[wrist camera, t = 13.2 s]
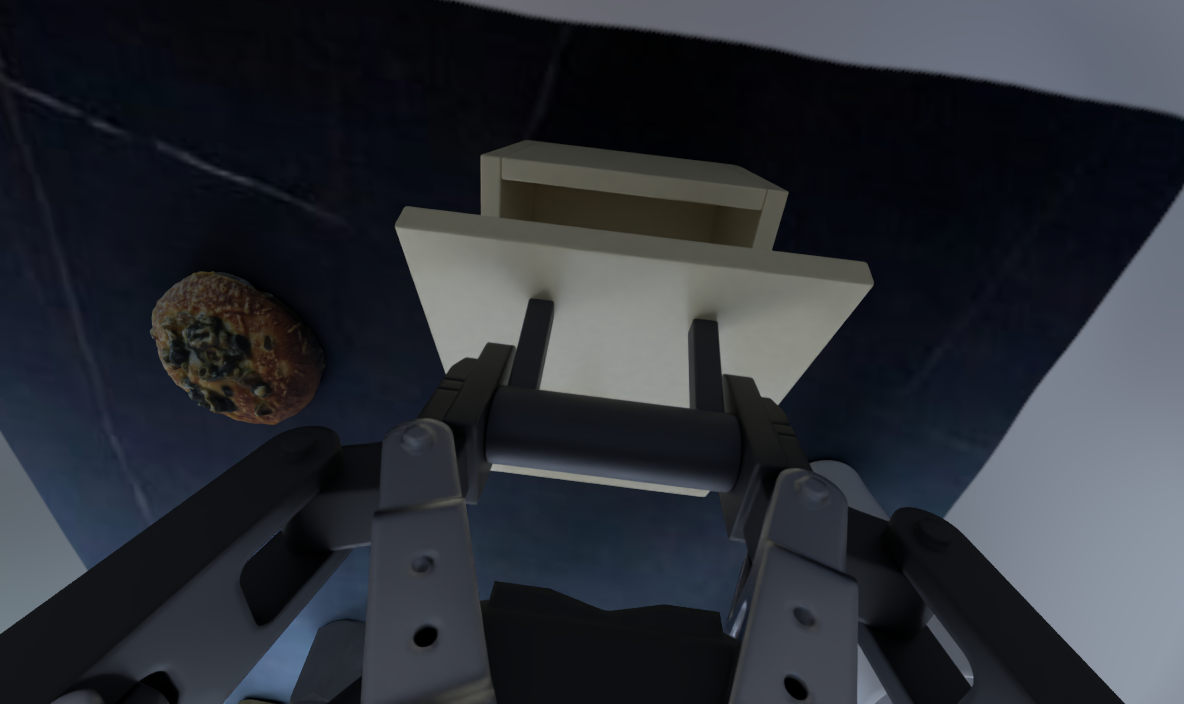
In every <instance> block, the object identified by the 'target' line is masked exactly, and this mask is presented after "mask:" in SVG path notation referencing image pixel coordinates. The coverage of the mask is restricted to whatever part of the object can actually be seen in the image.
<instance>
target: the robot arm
mask: <svg viewBox="0 0 1184 704" xmlns="http://www.w3.org/2000/svg"><path fill="white" fill-rule="evenodd" d="M515 354H516V347H515V346H514V345H507V344H499V343H492V342H488V343H487V344H486V345H485V347H484V349H483V350H482V352H481V354H480V356H479V357H478V359H476V358H468V357H465V358H464V359H462V360H460V361H459V362H457V363H456V364H454V365H452V366H451V368H450V369H449V371H448V372H447V374H446V375H445V377H444V380H442V381H441V383H440V384H439V386H438V389H436V390H435V392H434V393H433V395H432V396H431V398H430V399H429V401H428V402H427V404H426V405H425V407H424V408H423V410H422V411H421V413H420V414H419V416H418V417H417V419H413V420H409V421H405V422H403V423H400V424H398V425H396V426H395V427H393V428H392V429H391V430H389V431H388V432H387V434H386V435H385V436H384V439H383V441H382V442H377V443H370V444H358V445H347V446H341V444H340V439H339V436H338V434H337V433H336V432H335V431H333V430H331V429H329V428H326V427H321V426H305V427H299V428H294V429H291V430H288V431H285V432H283V433H281V434H279V435H277V436H275V437H273V438H272V439H270V440H269V441H267V442H266V443H264V444H263V445H262V446H260V447H259V448H258V449H256V450H255V451H253V452H252V453H251V454H249V455H248V456H246V457H245V458H244V459H242V460H241V461H240V462H238V463H237V464H235V465H234V466H233V467H231V468H230V469H228V470H227V471H226V472H224V473H223V474H222V475H220V476H219V477H217V478H216V479H215V480H213V481H212V482H210V483H209V484H208V485H206V486H205V487H204V488H202V489H201V490H199V491H198V492H197V493H195V494H194V495H192V496H191V497H190V498H188V499H187V500H186V501H184V502H183V503H181V504H180V505H179V506H177V507H176V508H174V509H173V510H172V511H170V512H169V513H168V514H166V515H165V516H163V517H162V518H161V519H159V520H158V521H156V522H155V523H154V524H152V525H151V526H150V527H148V528H147V529H145V530H144V531H143V532H141V533H140V534H138V535H137V536H136V537H134V538H133V539H131V540H130V541H129V542H127V543H126V544H125V545H123V546H122V547H120V548H119V549H118V550H116V551H115V552H113V553H112V554H111V555H109V556H108V557H107V558H105V559H104V560H102V561H101V562H100V563H98V564H97V565H95V566H94V567H93V568H91V569H90V570H89V571H87V572H86V573H85V574H83V575H82V576H80V577H79V578H78V579H76V580H75V581H73V582H72V583H71V584H69V585H68V586H66V587H65V588H64V589H63V590H61V591H59V592H58V593H57V594H55V595H54V596H53V597H51V598H50V599H48V600H47V601H46V602H44V603H43V604H42V605H40V606H39V607H37V608H36V609H35V610H33V611H32V612H30V613H29V614H28V615H26V616H25V617H23V618H22V619H21V620H19V621H18V622H16V623H15V624H14V625H12V626H11V627H10V628H8V629H7V630H6V631H4V632H3V633H2V634H0V704H223V703H224V701H225V700H226V699H227V698H228V697H229V695H230V694H231V693H232V692H233V691H234V690H235V688H236V687H237V686H238V685H239V684H240V683H241V681H242V680H243V679H244V678H245V677H246V675H247V674H248V673H249V672H250V671H251V670H252V668H253V667H254V666H255V665H256V664H257V662H258V661H259V660H260V659H261V658H262V657H263V655H264V654H265V653H266V652H267V651H268V650H269V648H270V647H271V646H272V645H273V644H274V642H275V641H276V640H277V639H278V638H279V637H280V635H281V634H282V633H283V632H284V631H285V629H286V628H287V627H288V626H289V625H290V624H291V622H292V621H293V620H294V619H295V618H296V617H297V615H298V614H299V613H300V612H301V611H302V609H303V608H304V607H305V606H306V605H307V604H308V602H309V601H310V600H311V599H312V598H313V596H314V595H315V594H316V593H317V592H318V591H319V589H320V588H321V587H322V586H323V585H324V584H325V582H326V581H327V580H328V579H329V578H330V576H331V575H332V574H333V573H334V572H335V571H336V569H337V568H338V567H339V566H340V565H341V563H342V562H343V561H344V560H345V559H346V558H347V556H348V555H349V554H350V553H351V552H352V550H353V549H354V548H356V547H363V546H370V545H371V552H370V567H369V583H368V598H367V614H366V629H365V644H364V660H363V675H361V676H360V677H359V678H358V679H356V680H355V681H354V682H353V683H351V684H350V685H349V686H348V687H346V688H345V689H344V690H343V691H342V692H340V693H339V694H338V695H337V696H335V697H334V698H333V699H332V700H330V701H329V702H328V703H327V704H857V681H858V644H859V646H860V648H861V650H862V651H863V653H864V655H865V656H866V658H867V660H868V662H869V663H870V665H871V667H872V669H873V670H874V672H875V674H876V675H877V677H878V679H879V681H880V682H881V684H882V686H883V688H884V689H885V691H886V693H887V694H888V696H889V698H890V700H891V701H892V703H893V704H1125V703H1124V702H1123V701H1122V700H1121V699H1120V698H1119V697H1118V696H1117V695H1116V694H1115V693H1114V692H1113V691H1112V690H1111V689H1110V688H1109V686H1108V685H1107V684H1106V683H1105V682H1104V681H1103V680H1102V679H1101V678H1100V677H1099V676H1098V675H1097V674H1096V673H1095V672H1094V671H1093V670H1092V669H1091V668H1090V667H1089V666H1088V665H1087V663H1086V662H1085V661H1083V659H1082V658H1081V657H1080V656H1079V655H1078V654H1077V653H1076V652H1075V651H1074V650H1073V649H1072V648H1071V647H1070V646H1069V645H1068V644H1067V642H1065V640H1064V639H1063V638H1062V637H1061V636H1060V635H1059V634H1057V632H1056V631H1055V630H1054V629H1053V628H1052V627H1051V626H1050V625H1049V624H1048V623H1047V622H1046V620H1044V618H1043V617H1042V616H1041V615H1039V613H1038V612H1037V611H1036V610H1035V609H1034V608H1033V607H1032V606H1031V605H1030V604H1029V603H1028V602H1027V601H1026V600H1025V599H1024V597H1023V596H1022V595H1021V594H1020V593H1019V592H1018V591H1017V590H1016V589H1015V588H1014V587H1013V586H1012V585H1011V584H1010V583H1009V582H1008V581H1007V580H1006V579H1005V577H1004V576H1002V574H1001V573H1000V572H999V571H998V570H997V569H996V568H995V567H994V566H993V565H992V564H991V563H990V562H989V561H988V560H987V559H986V558H985V557H984V555H983V554H982V553H981V552H980V551H979V550H978V549H977V548H976V547H975V546H974V545H973V544H972V543H971V542H970V541H969V540H968V539H967V538H966V537H965V536H964V535H963V534H962V533H961V532H960V531H959V530H958V529H957V528H956V527H954V526H953V525H952V524H950V523H949V522H947V521H946V520H944V519H942V518H941V517H939V516H937V515H935V514H933V513H930V512H928V511H925V510H921V509H917V508H910V507H906V508H900V509H898V510H896V511H895V512H894V514H893V515H892V517H891V518H890V520H889V521H886V520H884V519H881V518H878V517H875V516H872V515H870V514H867V513H864V512H861V511H859V510H856V509H854V508H851V507H849V506H848V502H847V499H846V497H845V495H844V494H843V492H842V491H841V490H840V489H839V488H838V487H837V486H836V485H835V484H834V483H833V482H831V481H830V480H828V479H827V478H825V477H824V476H822V475H820V474H817V473H815V472H813V470H812V468H811V466H810V464H809V462H808V460H807V458H806V456H805V453H804V451H803V449H802V447H801V445H800V443H799V441H798V439H797V438H796V437H795V433H794V431H793V429H792V427H791V426H790V423H789V421H788V419H787V417H786V415H785V413H784V411H783V410H782V409H781V408H780V407H779V406H778V405H777V404H776V403H775V402H774V401H773V400H772V399H771V398H766V397H761V395H760V393H759V390H758V388H757V386H756V384H755V381H754V379H753V378H752V377H745V376H737V375H730V374H723V375H722V384H723V398H724V412H725V413H731V414H733V415H735V416H736V417H737V419H738V421H739V424H740V428H741V434H742V460H741V467H740V472H739V476H738V479H737V482H736V484H735V486H734V488H733V489H732V490H731V491H730V492H727V493H723V492H718V494H719V498H720V503H721V507H722V512H723V517H724V521H725V526H726V530H727V535H728V539H729V540H730V541H738V542H745V543H746V546H747V550H748V551H747V554H746V556H745V559H744V561H743V564H742V567H741V571H740V575H739V578H738V582H737V586H736V589H735V593H734V597H733V600H732V604H731V608H730V611H729V615H728V619H727V622H726V626H725V629H724V632H723V629H722V623H721V617H720V612H715V611H708V610H701V609H693V608H686V607H679V606H672V605H656V606H647V607H639V608H631V609H623V610H614V611H606V610H602V609H599V608H596V607H594V606H591V605H589V604H586V603H584V602H582V601H579V600H577V599H574V598H572V597H569V596H567V595H564V594H562V593H559V592H557V591H554V590H552V589H549V588H541V587H534V586H527V585H520V584H512V583H505V582H498V581H495V582H494V586H493V589H492V593H491V596H490V599H489V600H481V601H480V599H479V593H478V586H477V579H476V572H475V565H474V558H473V552H472V545H471V538H470V531H469V524H468V518H467V511H466V504H473V505H477V504H478V501H479V499H480V496H481V493H482V491H483V488H484V485H485V483H486V480H487V477H488V475H489V472H490V470H491V467H492V463H489V462H487V461H486V457H485V449H484V443H485V430H486V423H487V417H488V412H489V408H490V404H491V401H492V398H493V395H494V393H495V391H496V389H497V388H498V386H500V385H506V386H508V382H509V378H510V374H511V370H512V366H513V362H514V358H515ZM279 529H281V530H280V531H279V532H278V533H277V534H276V535H275V536H274V537H273V538H272V539H271V540H270V541H269V542H268V543H267V544H266V545H265V546H263V547H262V548H261V549H260V550H259V551H258V552H257V553H256V554H255V555H254V556H253V557H252V558H251V559H250V560H249V561H248V559H249V558H250V557H251V556H252V555H253V554H254V553H255V552H256V551H257V550H258V549H259V548H260V547H261V546H262V545H263V544H264V543H265V542H266V541H268V540H269V539H270V538H271V537H272V536H273V535H274V534H275V533H276V532H277V531H278V530H279ZM247 561H248V562H247ZM933 615H935V616H936V617H937V619H938V620H939V621H940V623H941V624H942V625H943V627H944V628H945V629H946V631H947V632H948V633H949V635H950V636H951V637H952V639H953V640H954V641H955V643H956V644H957V645H958V647H959V648H960V649H961V651H962V652H963V653H964V655H965V656H966V658H967V660H968V661H969V664H970V666H971V669H972V672H973V686H972V687H971V685H970V684H969V682H968V681H967V680H966V678H965V677H964V676H963V674H962V673H961V671H960V670H959V669H958V667H957V666H956V665H955V663H954V662H953V660H952V659H951V658H950V656H949V655H948V654H947V652H946V651H945V649H944V648H943V647H942V645H941V644H940V643H939V641H938V640H937V638H936V637H935V636H934V634H933V633H932V631H931V630H930V629H929V627H928V626H927V625H926V624H927V623H928V621H929V620H930V619H931V618H932V616H933Z"/></svg>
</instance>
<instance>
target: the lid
mask: <svg viewBox="0 0 1184 704" xmlns="http://www.w3.org/2000/svg"><path fill="white" fill-rule="evenodd" d="M395 228H396V231H397V234H398V237H399V240H400V243H401V246H402V248H403V251H404V254H405V257H406V260H407V263H408V266H409V269H410V272H411V275H412V277H413V280H414V283H415V286H416V289H417V292H418V295H419V298H420V301H421V304H422V306H423V309H424V312H425V315H426V318H427V321H428V324H429V327H430V330H431V333H432V335H433V338H434V341H435V344H436V347H437V350H438V353H439V356H440V359H441V362H442V364H443V367H444V370H445V373H446V374H447V372H448V371H449V369H450V368H451V366H452V365H454V364H456V363H457V362H459V361H460V360H462V359H464V358H465V357H468V358H476V359H478V357H479V356H480V354H481V352H482V350H483V349H484V347H485V345H486V344H487V343H488V342H492V343H499V344H507V345H514V346H515V347H516V354H515V358H514V362H513V366H512V370H511V374H510V378H509V382H508V386H506V385H500V386H498V388H497V389H496V391H495V393H494V395H493V398H492V401H491V404H490V408H489V412H488V417H487V423H486V430H485V443H484V449H485V457H486V461H487V462H489V463H492V467H491V470H492V471H500V472H508V473H516V474H524V475H532V476H540V477H548V478H556V479H564V480H572V481H580V482H588V483H596V484H604V485H612V486H620V487H628V488H636V489H644V490H651V491H659V492H667V493H675V494H683V495H691V496H699V497H705V496H706V495H707V494H708V493H709V491H716V492H723V493H727V492H730V491H731V490H732V489H733V488H734V486H735V484H736V482H737V479H738V476H739V472H740V467H741V460H742V434H741V428H740V424H739V421H738V419H737V417H736V416H735V415H733V414H731V413H725V412H724V398H723V384H722V375H723V374H730V375H737V376H745V377H752V378H753V379H754V381H755V384H756V386H757V388H758V390H759V393H760V395H761V397H766V398H771V399H772V400H773V401H774V402H775V403H776V404H777V405H779V403H780V402H781V401H782V400H783V398H784V397H785V396H786V395H787V393H788V392H789V391H790V390H791V388H792V387H793V386H794V385H795V383H796V382H797V381H798V380H799V378H800V377H801V376H802V374H803V373H804V372H805V371H806V369H807V368H808V367H809V366H810V364H811V363H812V362H813V361H814V359H815V358H816V357H817V356H818V354H819V353H820V352H821V351H822V349H823V348H824V347H825V346H826V344H827V343H828V342H829V341H830V339H831V338H832V337H833V336H834V334H835V333H836V332H837V330H838V329H839V328H840V327H841V325H842V324H843V323H844V322H845V320H846V319H847V318H848V317H849V315H850V314H851V313H852V312H853V310H854V309H855V308H856V307H857V305H858V304H859V303H860V302H861V300H862V299H863V298H864V297H865V295H866V294H867V293H868V292H869V290H870V289H871V288H872V286H873V284H874V281H873V278H872V275H871V273H870V270H869V267H868V264H867V263H865V262H860V261H852V260H844V259H836V258H827V257H819V256H811V255H803V254H795V253H786V252H778V251H770V250H762V249H754V248H745V247H737V246H729V245H721V244H713V243H704V242H696V241H688V240H680V239H671V238H663V237H655V236H647V235H639V234H630V233H622V232H614V231H606V230H598V229H589V228H581V227H573V226H565V225H556V224H548V223H540V222H532V221H524V220H515V219H507V218H499V217H491V216H483V215H474V214H466V213H458V212H450V211H441V210H433V209H425V208H417V207H409V206H407V207H404V209H403V211H402V213H401V214H400V216H399V218H398V220H397V222H396V224H395Z"/></svg>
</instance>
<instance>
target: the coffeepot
mask: <svg viewBox="0 0 1184 704" xmlns="http://www.w3.org/2000/svg"><path fill="white" fill-rule="evenodd" d="M365 629H366V623H365V622H360V621H353V620H340V621H335V622H332V623H329V624H327V625H326V626H324V627H322V628H319V629H318V631H317V634H316V636H315V639H314V641H313V644H312V646H311V649H310V651H309V654H308V656H307V658H306V661H305V663H304V666H303V668H302V671H301V673H300V676H299V678H298V681H297V683H296V686H295V688H294V690H293V693H292V695H291V698H290V702H289V704H327V703H328V702H329V701H330V700H332V699H333V698H334V697H335V696H337V695H338V694H339V693H340V692H342V691H343V690H344V689H345V688H346V687H348V686H349V685H350V684H351V683H353V682H354V681H355V680H356V679H358V678H359V677H360V676H361V675H363V660H364V644H365Z"/></svg>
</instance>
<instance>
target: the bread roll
mask: <svg viewBox="0 0 1184 704" xmlns="http://www.w3.org/2000/svg"><path fill="white" fill-rule="evenodd" d="M250 284H251V283H249V282H248V281H246V280H245V279H242V278H239V277H238V276H234V275H230V274H228V273H225V272H218V273H217V272H216V273H215V272H214V271H211V272H202V271H200V272H198V273H192V275H191V276H188V277H186V278H185V279H183V280H182V281H181V282H179V283H177V284H175V285H174V286H173V287H172V288H171V289H169V290H168V291H167V292H166V293H165V294H164V296H163V297H162V298H161V299H159V300H158V301H157V305H156V307H155V308H154V309H153V313H152V325H153V328H152V329H151V330H150V333H151V335H152V338H153V339H155V340H156V344H157V347H158V353H159V356H160V359H161V361H162V363H163V366H164V368H165V369H166V370H167V372H168V374H169V376H171V377H172V379H173V380H174V382H175V383H176V384H177V385H178V386H180V387H181V388H183V389H184V390H185V391H187V392H189V394H188V395H189V396H190V398H191V399H193V400H196V401H199V403H198V405H199V406H201V405H203V406H204V407H206V408H208V409H209V410H211V411H213V412H214V413H222V414H225V415H226V416H229V417H231V418H233V419H235V420H239V421H245V422H248V423H256V424H258V423H265V424H277V423H278V422H280V421H284V420H285V419H286V418H288V417H291V416H293V415H295V414H297V413H298V412H300V411H301V410H302V409H303V408H305V407H306V406H307V405H308V404H309V403H310V401H311V400H312V399H313V398H314V396H315V391H316V389H317V388H318V386H319V382H320V379H321V375H322V372H324V371H323V370H324V369H325V367H326V365H325V363H326V361H325V360H326V358H325V356H324V354H323V350H322V348H321V347H320V344H319V343H318V342H317V339H316V338H315V336H314V335H313V332H311V330H310V329H309V328H308V327H307V326H306V327H305V326H304V325H303V324H302V320H301V319H300V318H299V316H297V315H296V314H295V312H294V311H292V310H291V309H290V308H288V307H287V306H286V305H285V304H284V303H282V302H281V301H279V300H278V299H276V298H275V297H273V295H272V294H270V293H268V292H260V291H258V290H256V289H255V288H254V287H253V286H252V285H250Z"/></svg>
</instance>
